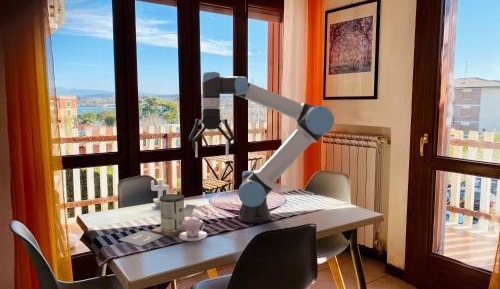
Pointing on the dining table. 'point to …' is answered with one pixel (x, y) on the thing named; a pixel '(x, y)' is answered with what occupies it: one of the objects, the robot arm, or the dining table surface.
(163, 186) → the figurine
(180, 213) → the coffee can
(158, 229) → the walnut board
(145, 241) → the tile
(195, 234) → the teacup
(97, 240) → the dining table surface
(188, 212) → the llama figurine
